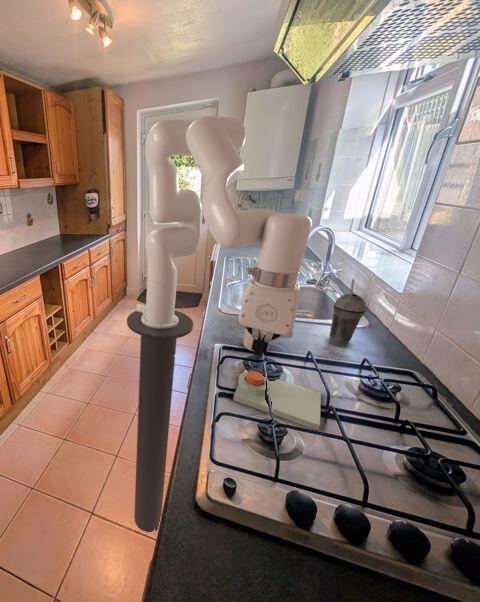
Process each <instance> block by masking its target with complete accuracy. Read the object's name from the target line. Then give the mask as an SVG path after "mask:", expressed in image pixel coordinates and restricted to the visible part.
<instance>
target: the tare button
mask: <svg viewBox="0 0 480 602" xmlns="http://www.w3.org/2000/svg"><path fill="white" fill-rule="evenodd" d="M248 371H249V372H248V373H247V376H246V381H247V382H248V383H249V384H251V385H254V386H262V385H263V382H264V376H263V375H264V374H262V373H261V372H259V371H255V370H248Z"/></svg>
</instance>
